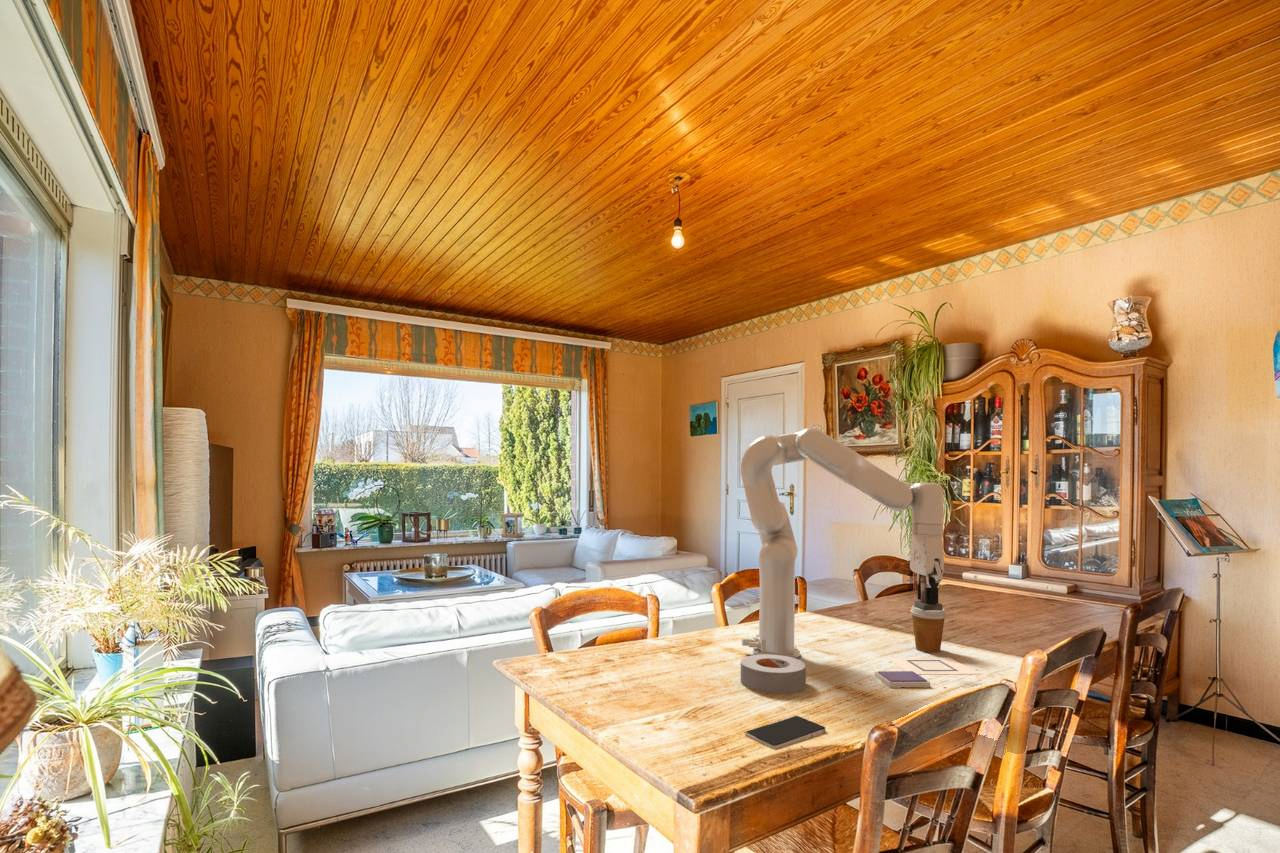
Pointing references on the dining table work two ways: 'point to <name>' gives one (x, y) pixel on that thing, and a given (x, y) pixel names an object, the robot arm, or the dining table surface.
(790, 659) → the tape roll
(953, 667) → the sheet
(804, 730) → the smartphone
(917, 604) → the stamp
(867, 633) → the dining table surface
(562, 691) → the dining table surface
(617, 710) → the dining table surface
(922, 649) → the disposable coffee cup
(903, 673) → the ink pad
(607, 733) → the dining table surface
